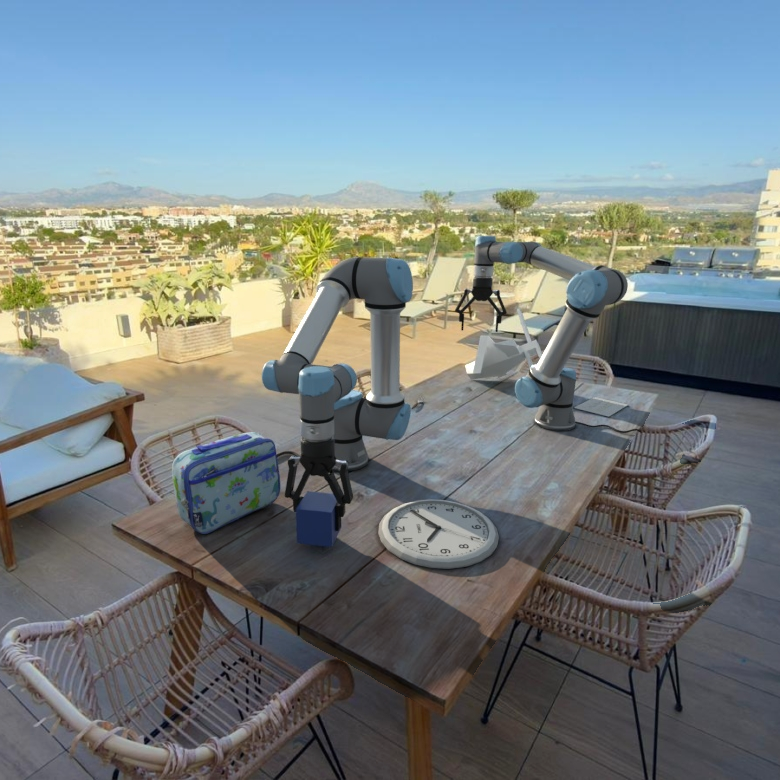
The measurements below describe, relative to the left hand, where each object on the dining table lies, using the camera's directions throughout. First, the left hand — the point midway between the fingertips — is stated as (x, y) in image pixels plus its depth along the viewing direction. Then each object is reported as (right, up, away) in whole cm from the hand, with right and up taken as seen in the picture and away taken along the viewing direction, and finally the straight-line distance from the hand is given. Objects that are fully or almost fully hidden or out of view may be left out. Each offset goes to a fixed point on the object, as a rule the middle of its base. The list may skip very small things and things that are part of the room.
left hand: (319, 525), depth 123 cm
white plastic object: (+72, +34, +130) cm, 153 cm away
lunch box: (-25, -1, +14) cm, 29 cm away
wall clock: (+29, -4, +8) cm, 30 cm away
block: (0, -2, +1) cm, 3 cm away
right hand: (+53, +56, +87) cm, 116 cm away
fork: (+28, +25, +101) cm, 108 cm away
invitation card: (+108, +25, +103) cm, 151 cm away
